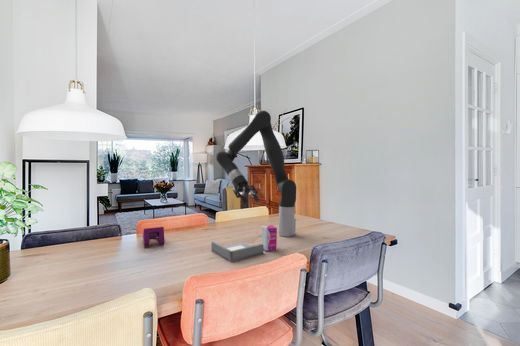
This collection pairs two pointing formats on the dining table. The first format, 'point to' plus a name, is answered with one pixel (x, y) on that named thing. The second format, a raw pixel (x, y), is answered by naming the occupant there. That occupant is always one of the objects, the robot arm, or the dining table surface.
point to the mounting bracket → (153, 235)
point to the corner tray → (236, 251)
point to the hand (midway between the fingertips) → (252, 202)
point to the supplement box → (269, 238)
